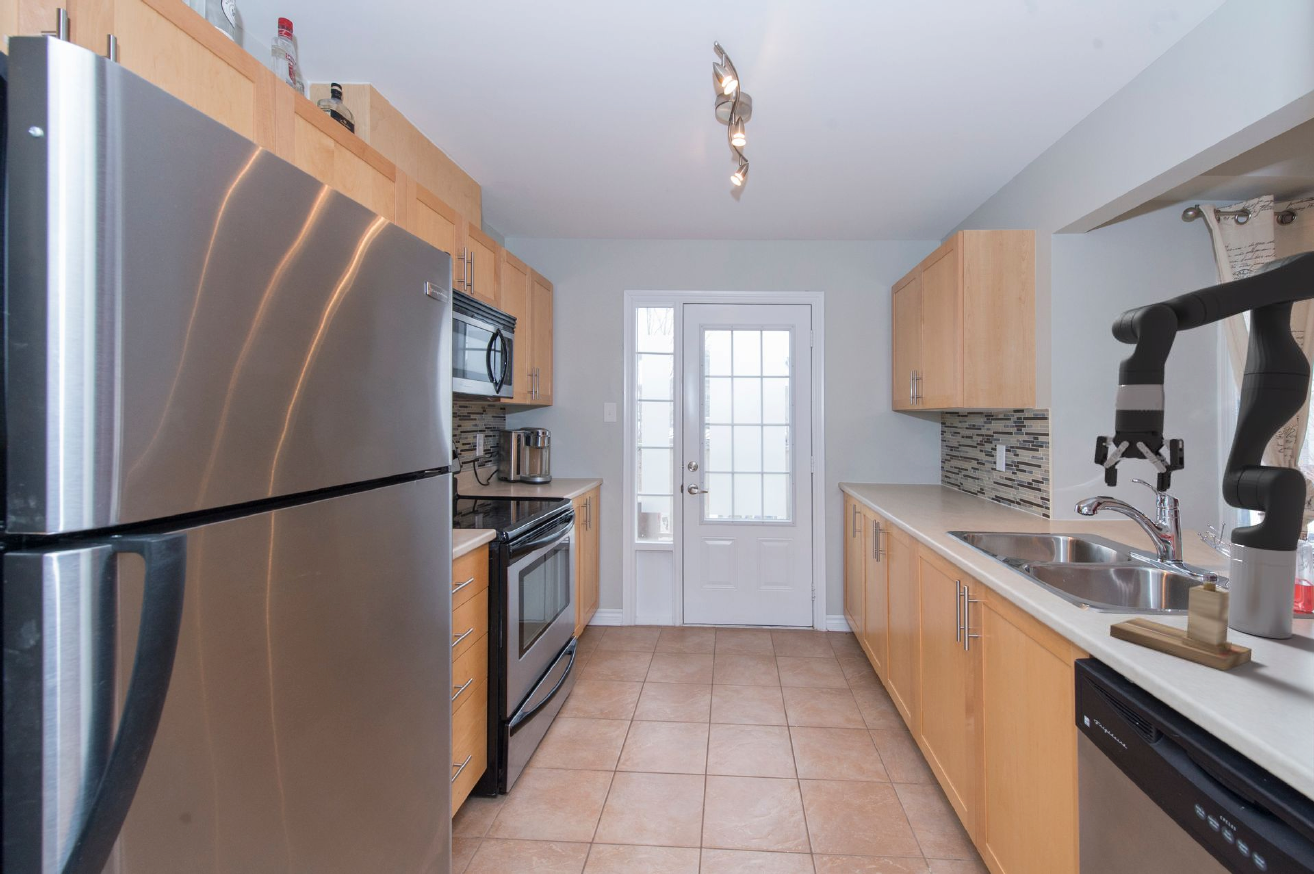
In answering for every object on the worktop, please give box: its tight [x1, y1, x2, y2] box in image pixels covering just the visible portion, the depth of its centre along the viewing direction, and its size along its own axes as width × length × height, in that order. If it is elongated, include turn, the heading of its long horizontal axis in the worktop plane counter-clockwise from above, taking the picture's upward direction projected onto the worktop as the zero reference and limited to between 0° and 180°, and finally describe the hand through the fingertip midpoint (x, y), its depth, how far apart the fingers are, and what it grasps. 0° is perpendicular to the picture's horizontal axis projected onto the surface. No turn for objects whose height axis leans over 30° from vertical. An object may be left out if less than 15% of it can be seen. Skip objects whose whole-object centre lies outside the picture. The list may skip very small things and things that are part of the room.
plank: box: [1109, 617, 1252, 671], centre depth 109 cm, size 10×17×2 cm, turn 26°
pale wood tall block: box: [1182, 581, 1233, 654], centre depth 103 cm, size 5×6×11 cm
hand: (1135, 488), depth 118 cm, fingers open, 8 cm apart
